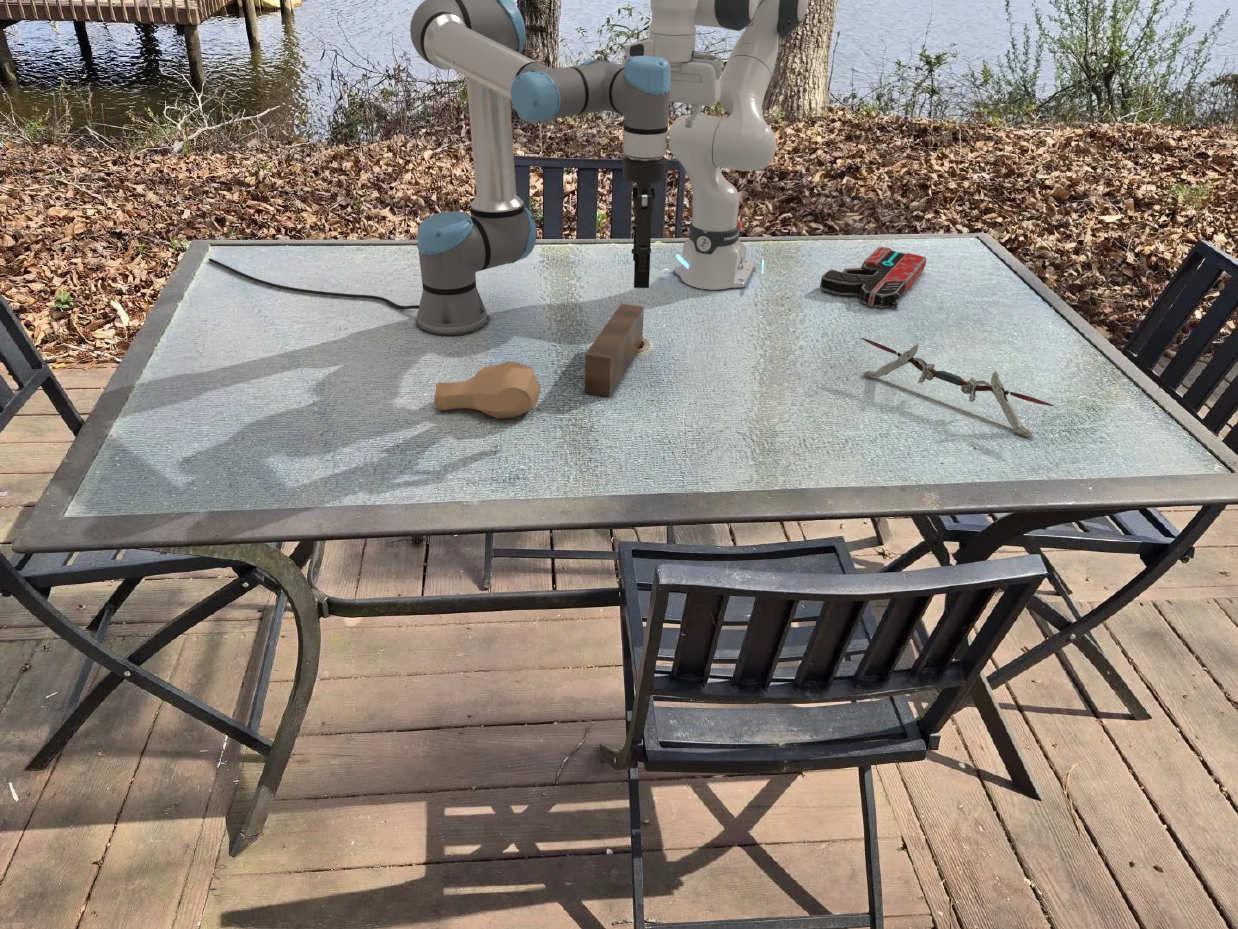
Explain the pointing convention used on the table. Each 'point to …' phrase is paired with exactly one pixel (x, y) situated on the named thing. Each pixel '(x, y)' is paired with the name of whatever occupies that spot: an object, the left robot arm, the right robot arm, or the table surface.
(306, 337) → the table surface
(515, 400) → the squash
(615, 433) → the table surface
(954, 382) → the bow
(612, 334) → the bar
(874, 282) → the gun
